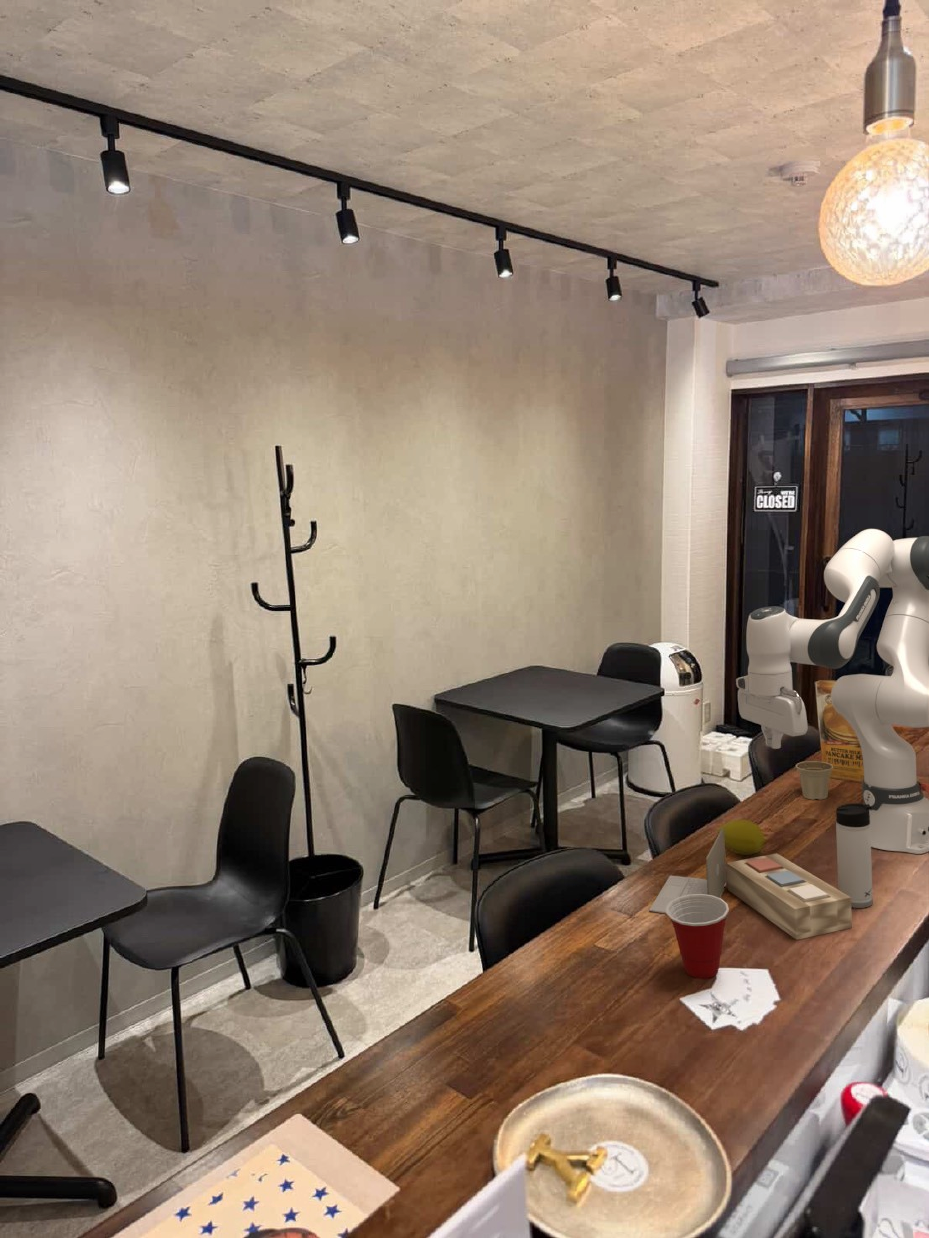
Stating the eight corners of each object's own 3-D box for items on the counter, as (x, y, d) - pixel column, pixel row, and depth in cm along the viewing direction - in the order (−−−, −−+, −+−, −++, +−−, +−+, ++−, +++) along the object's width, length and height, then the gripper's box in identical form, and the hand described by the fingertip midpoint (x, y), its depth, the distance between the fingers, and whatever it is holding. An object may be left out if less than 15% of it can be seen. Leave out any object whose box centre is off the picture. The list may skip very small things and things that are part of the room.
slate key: (789, 884, 180) (788, 870, 180) (804, 893, 175) (803, 879, 175) (767, 888, 179) (766, 874, 178) (782, 898, 174) (781, 883, 174)
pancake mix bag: (822, 770, 262) (819, 677, 259) (889, 780, 248) (886, 682, 245) (812, 775, 258) (809, 681, 254) (880, 786, 244) (877, 687, 241)
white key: (812, 898, 173) (811, 884, 172) (828, 909, 168) (828, 894, 167) (789, 903, 171) (789, 888, 171) (805, 913, 167) (804, 898, 166)
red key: (768, 871, 187) (767, 857, 187) (781, 879, 182) (781, 865, 182) (747, 875, 186) (746, 861, 186) (760, 884, 181) (759, 870, 181)
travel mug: (878, 908, 174) (875, 810, 171) (842, 908, 175) (839, 811, 173) (870, 895, 180) (867, 800, 177) (835, 894, 181) (832, 800, 179)
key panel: (777, 879, 190) (776, 853, 190) (852, 927, 167) (851, 897, 166) (727, 889, 187) (726, 862, 187) (796, 939, 164) (795, 909, 164)
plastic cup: (656, 965, 159) (653, 902, 158) (705, 949, 163) (702, 888, 162) (694, 993, 149) (691, 926, 148) (745, 975, 153) (742, 910, 152)
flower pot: (802, 789, 247) (801, 759, 246) (837, 793, 241) (836, 762, 240) (792, 799, 239) (791, 768, 238) (829, 804, 234) (827, 772, 233)
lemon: (773, 852, 205) (771, 819, 204) (757, 863, 200) (755, 829, 199) (730, 843, 213) (728, 811, 212) (713, 853, 207) (712, 821, 206)
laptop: (669, 878, 196) (666, 822, 195) (727, 884, 191) (724, 826, 189) (648, 913, 180) (645, 852, 179) (711, 921, 175) (707, 858, 173)
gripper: (814, 690, 178) (816, 756, 180) (756, 674, 198) (759, 734, 200) (786, 694, 177) (789, 761, 178) (731, 678, 196) (734, 738, 198)
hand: (773, 747), depth 189 cm, fingers closed
